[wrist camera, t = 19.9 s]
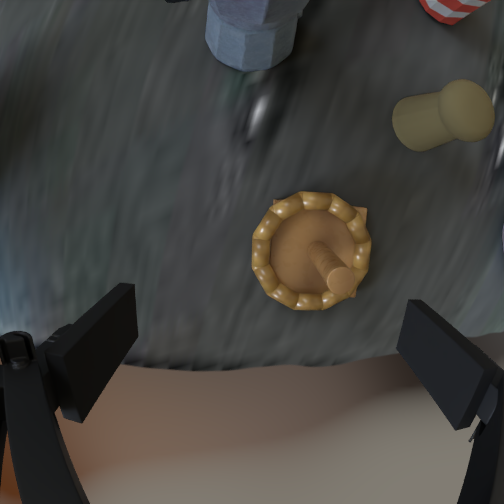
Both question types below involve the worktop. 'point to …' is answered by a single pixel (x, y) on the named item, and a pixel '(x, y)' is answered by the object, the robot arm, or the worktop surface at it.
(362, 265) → the ring
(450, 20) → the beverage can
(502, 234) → the coffee pot
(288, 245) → the wooden peg stand
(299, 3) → the moka pot
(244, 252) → the worktop surface
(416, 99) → the cork
